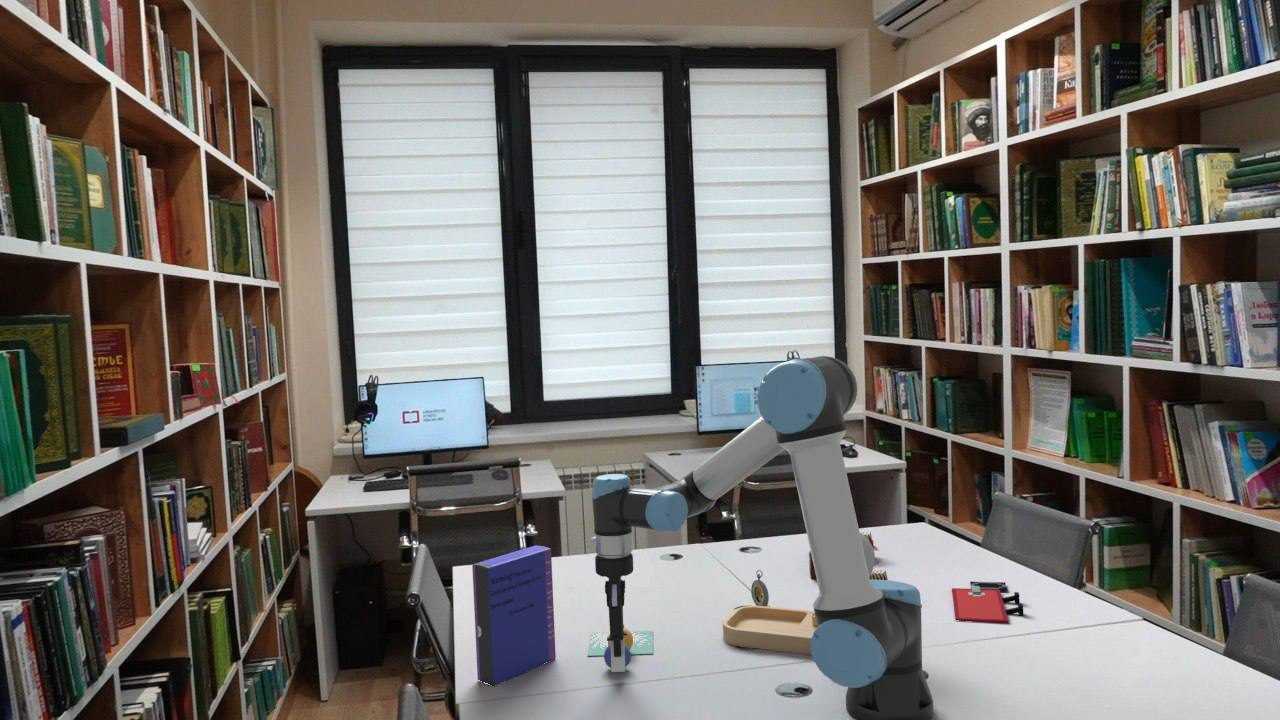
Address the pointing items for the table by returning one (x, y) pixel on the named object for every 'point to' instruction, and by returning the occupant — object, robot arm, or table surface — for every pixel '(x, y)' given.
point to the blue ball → (608, 655)
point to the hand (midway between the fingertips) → (618, 670)
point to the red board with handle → (984, 603)
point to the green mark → (634, 649)
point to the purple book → (513, 614)
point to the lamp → (778, 622)
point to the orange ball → (626, 639)
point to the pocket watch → (759, 592)
